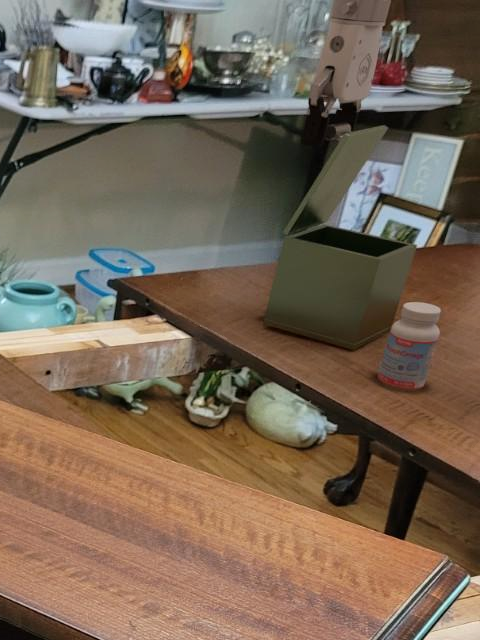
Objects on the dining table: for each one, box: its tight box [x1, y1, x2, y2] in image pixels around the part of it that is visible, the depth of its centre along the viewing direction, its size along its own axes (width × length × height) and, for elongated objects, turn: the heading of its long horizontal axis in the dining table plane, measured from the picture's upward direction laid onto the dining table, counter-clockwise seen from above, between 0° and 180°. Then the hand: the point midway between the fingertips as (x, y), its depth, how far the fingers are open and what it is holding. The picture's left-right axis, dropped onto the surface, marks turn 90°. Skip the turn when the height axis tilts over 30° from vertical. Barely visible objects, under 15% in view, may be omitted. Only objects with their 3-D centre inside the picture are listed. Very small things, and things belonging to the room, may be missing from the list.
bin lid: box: [282, 122, 389, 236], centre depth 164 cm, size 16×14×5 cm
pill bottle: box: [377, 301, 442, 390], centre depth 148 cm, size 6×6×11 cm
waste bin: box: [262, 223, 418, 351], centre depth 168 cm, size 15×14×13 cm
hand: (325, 142), depth 162 cm, fingers open, 9 cm apart
